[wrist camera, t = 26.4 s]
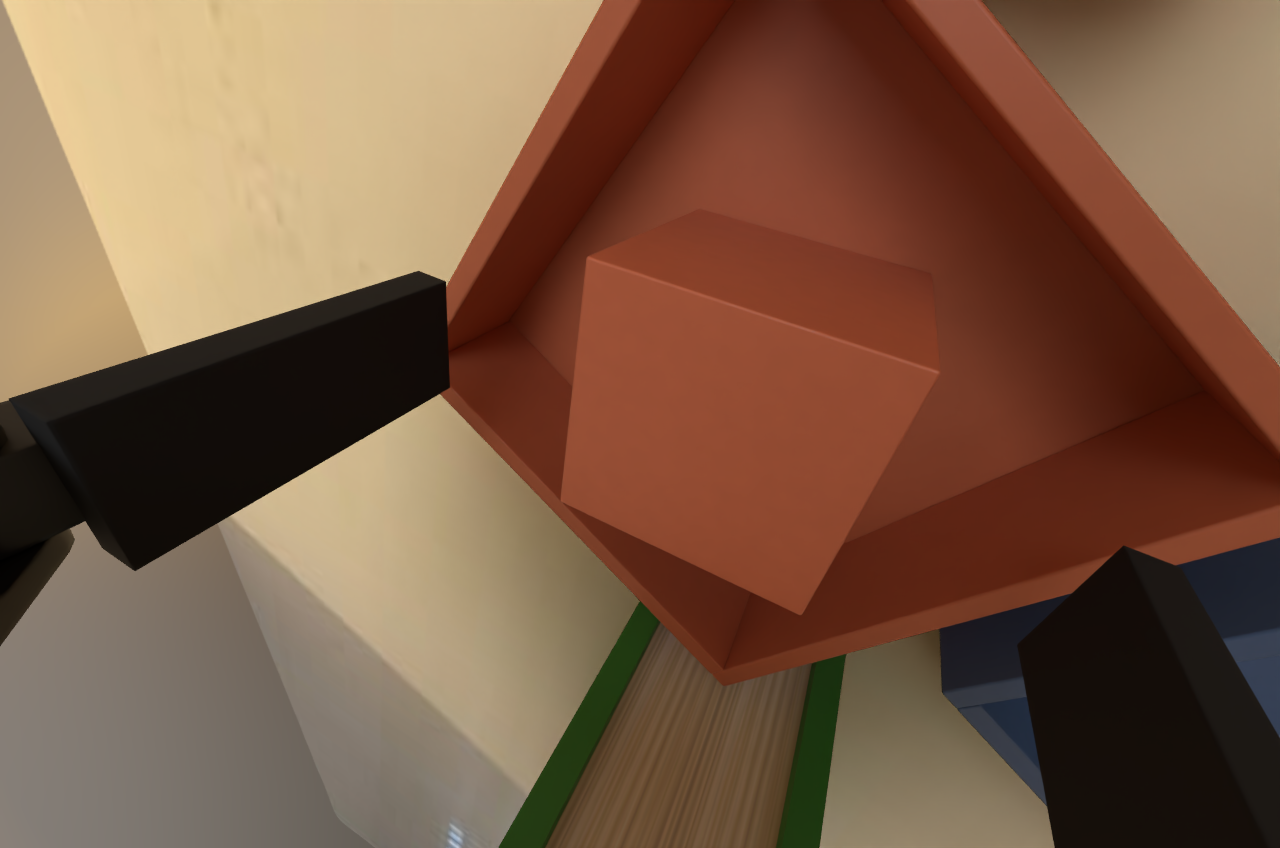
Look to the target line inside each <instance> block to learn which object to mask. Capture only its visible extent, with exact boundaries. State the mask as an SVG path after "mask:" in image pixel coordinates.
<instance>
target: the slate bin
mask: <svg viewBox="0 0 1280 848" xmlns="http://www.w3.org/2000/svg"><path fill="white" fill-rule="evenodd" d="M1176 566H1178V567H1181V569H1182V570H1183V572H1184V574H1185V575H1186V577H1187V579H1188V581H1189V582H1190V584H1191V586H1192V588H1193V589H1194V591H1195V593H1196V594H1197V596H1198V598H1199V600H1200V601H1201V603H1202V605H1203V606H1204V608H1205V610H1206V612H1207V613H1208V615H1209V617H1210V619H1211V620H1212V622H1213V624H1214V625H1215V627H1216V629H1217V631H1218V632H1219V634H1220V636H1221V637H1222V639H1223V641H1224V643H1225V644H1226V646H1227V648H1228V650H1229V651H1230V653H1231V655H1232V656H1233V658H1234V660H1235V662H1236V663H1237V665H1238V667H1239V668H1240V670H1241V672H1242V674H1243V675H1244V677H1245V679H1246V681H1247V682H1248V684H1249V686H1250V687H1251V689H1252V691H1253V693H1254V694H1255V696H1256V698H1257V699H1258V701H1259V703H1260V705H1261V706H1262V708H1263V710H1264V712H1265V713H1266V715H1267V717H1268V718H1269V720H1270V722H1271V724H1272V725H1273V727H1274V729H1275V730H1276V732H1277V734H1278V736H1279V737H1280V538H1276V539H1272V540H1269V541H1265V542H1261V543H1258V544H1254V545H1250V546H1246V547H1243V548H1239V549H1235V550H1231V551H1228V552H1224V553H1220V554H1217V555H1213V556H1209V557H1205V558H1202V559H1198V560H1194V561H1190V562H1187V563H1183V564H1179V565H1176ZM1071 594H1072V593H1071ZM1071 594H1067V595H1064V596H1060V597H1056V598H1052V599H1049V600H1045V601H1041V602H1037V603H1034V604H1030V605H1026V606H1022V607H1019V608H1015V609H1011V610H1008V611H1004V612H1000V613H996V614H993V615H989V616H985V617H981V618H978V619H974V620H970V621H967V622H963V623H959V624H955V625H952V626H948V627H944V628H940V629H939V632H940V656H941V680H942V693H943V694H944V695H945V697H946V698H947V699H948V700H949V701H950V702H951V703H952V704H953V705H954V706H955V707H956V708H957V709H958V711H959V712H960V713H961V714H962V715H963V716H964V717H965V718H966V719H967V721H968V722H969V723H970V724H971V725H972V726H973V727H974V728H975V729H976V730H977V731H978V732H979V734H980V735H981V736H982V737H983V738H984V739H985V740H986V741H987V742H988V743H989V744H990V745H991V746H992V748H993V749H994V750H995V751H996V752H997V753H998V754H999V755H1000V756H1001V757H1002V758H1003V759H1004V760H1005V762H1006V763H1007V764H1008V765H1009V766H1010V767H1011V768H1012V769H1013V770H1014V771H1015V772H1016V773H1017V774H1018V776H1019V777H1020V778H1021V779H1022V780H1023V781H1024V782H1025V783H1026V784H1027V785H1028V786H1029V787H1030V788H1031V790H1032V791H1033V792H1034V793H1035V794H1036V795H1037V796H1038V797H1039V798H1040V799H1041V800H1042V801H1043V803H1044V804H1045V805H1046V806H1047V803H1046V798H1045V792H1044V787H1043V781H1042V776H1041V771H1040V765H1039V760H1038V755H1037V749H1036V744H1035V739H1034V733H1033V728H1032V722H1031V717H1030V712H1029V706H1028V701H1027V696H1026V690H1025V685H1024V680H1023V674H1022V669H1021V663H1020V658H1019V653H1018V647H1017V644H1018V643H1019V642H1020V641H1021V640H1022V639H1024V638H1025V637H1026V636H1027V635H1028V634H1029V633H1030V632H1031V631H1032V630H1033V629H1034V628H1035V627H1036V626H1037V625H1039V624H1040V623H1041V622H1042V621H1043V620H1044V619H1045V618H1046V617H1047V616H1048V615H1049V614H1050V613H1051V612H1052V611H1054V610H1055V609H1056V608H1057V607H1058V606H1059V605H1060V604H1061V603H1062V602H1063V601H1064V600H1065V599H1066V598H1067V597H1069V596H1070V595H1071Z"/></svg>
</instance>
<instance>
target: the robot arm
mask: <svg viewBox="0 0 1280 848" xmlns="http://www.w3.org/2000/svg"><path fill="white" fill-rule="evenodd" d="M449 388H450V375H449V349H448V324H447V298H446V281H443V280H440V279H438V278H435V277H433V276H430V275H428V274H425V273H422V272H420V271H417V272H413V273H410V274H407V275H404V276H401V277H397V278H394V279H391V280H388V281H385V282H381V283H378V284H375V285H372V286H369V287H365V288H362V289H359V290H356V291H352V292H349V293H346V294H343V295H340V296H336V297H333V298H330V299H327V300H324V301H320V302H317V303H314V304H311V305H308V306H304V307H301V308H298V309H295V310H292V311H288V312H285V313H282V314H279V315H275V316H272V317H269V318H266V319H263V320H259V321H256V322H253V323H250V324H247V325H243V326H240V327H237V328H234V329H231V330H227V331H224V332H221V333H218V334H214V335H211V336H208V337H205V338H202V339H198V340H195V341H192V342H189V343H186V344H182V345H179V346H176V347H173V348H170V349H166V350H163V351H160V352H157V353H154V354H150V355H147V356H144V357H141V358H138V359H135V360H131V361H128V362H125V363H122V364H118V365H115V366H112V367H109V368H106V369H102V370H99V371H96V372H93V373H89V374H86V375H83V376H80V377H77V378H73V379H70V380H67V381H64V382H61V383H57V384H54V385H51V386H48V387H45V388H41V389H38V390H35V391H32V392H28V393H25V394H22V395H19V396H16V397H12V398H9V401H5V402H2V403H0V646H1V644H2V643H3V642H4V640H5V639H6V638H7V636H8V635H9V634H10V632H11V631H12V629H13V628H14V627H15V625H16V624H17V623H18V621H19V620H20V619H21V617H22V616H23V615H24V613H25V612H26V610H27V609H28V608H29V606H30V605H31V604H32V602H33V601H34V599H35V598H36V597H37V596H38V594H39V593H40V591H41V590H42V589H43V587H44V586H45V585H46V583H47V582H48V581H49V579H50V578H51V577H52V575H53V574H54V572H55V571H56V570H57V568H58V567H59V566H60V564H61V563H62V562H63V560H64V559H65V557H66V556H67V555H68V553H69V552H70V550H71V547H72V545H73V543H74V540H75V539H74V537H73V534H72V532H71V530H70V528H72V527H73V526H76V525H78V524H80V523H82V522H84V521H86V523H87V524H88V526H89V527H90V529H91V531H92V532H93V534H94V535H95V537H96V539H97V540H98V542H99V543H100V545H101V547H102V548H103V549H104V550H106V551H107V552H108V553H110V554H111V555H113V556H114V557H116V558H117V559H118V560H120V561H121V562H123V563H124V564H126V565H127V566H128V567H130V568H131V569H133V570H134V571H136V570H138V569H140V568H141V567H143V566H145V565H146V564H148V563H150V562H151V561H153V560H155V559H157V558H159V557H160V556H162V555H164V554H165V553H167V552H169V551H171V550H172V549H174V548H176V547H177V546H179V545H181V544H182V543H184V542H186V541H188V540H189V539H191V538H193V537H195V536H196V535H198V534H200V533H201V532H203V531H205V530H206V529H208V528H210V527H212V526H213V525H215V524H217V523H219V522H220V521H222V520H224V519H225V518H227V517H229V516H231V515H232V514H234V513H236V512H238V511H239V510H241V509H243V508H244V507H246V506H248V505H250V504H251V503H253V502H255V501H256V500H258V499H260V498H262V497H263V496H265V495H267V494H268V493H270V492H272V491H274V490H275V489H277V488H279V487H280V486H282V485H284V484H286V483H287V482H289V481H291V480H292V479H294V478H296V477H298V476H299V475H301V474H303V473H305V472H306V471H308V470H310V469H311V468H313V467H315V466H317V465H318V464H320V463H322V462H323V461H325V460H327V459H329V458H330V457H332V456H334V455H335V454H337V453H339V452H341V451H342V450H344V449H346V448H347V447H349V446H351V445H353V444H354V443H356V442H358V441H359V440H361V439H363V438H365V437H366V436H368V435H370V434H371V433H373V432H375V431H377V430H378V429H380V428H382V427H384V426H385V425H387V424H389V423H390V422H392V421H394V420H396V419H397V418H399V417H401V416H402V415H404V414H406V413H408V412H409V411H411V410H413V409H414V408H416V407H418V406H420V405H421V404H423V403H425V402H426V401H428V400H430V399H432V398H433V397H435V396H437V395H438V394H440V393H442V392H444V391H445V390H447V389H449ZM1017 647H1018V653H1019V658H1020V663H1021V669H1022V674H1023V680H1024V685H1025V690H1026V696H1027V701H1028V706H1029V712H1030V717H1031V722H1032V728H1033V733H1034V739H1035V744H1036V749H1037V755H1038V760H1039V765H1040V771H1041V776H1042V781H1043V787H1044V792H1045V798H1046V803H1047V808H1048V814H1049V819H1050V824H1051V830H1052V835H1053V840H1054V846H1055V848H1280V737H1279V736H1278V734H1277V732H1276V730H1275V729H1274V727H1273V725H1272V724H1271V722H1270V720H1269V718H1268V717H1267V715H1266V713H1265V712H1264V710H1263V708H1262V706H1261V705H1260V703H1259V701H1258V699H1257V698H1256V696H1255V694H1254V693H1253V691H1252V689H1251V687H1250V686H1249V684H1248V682H1247V681H1246V679H1245V677H1244V675H1243V674H1242V672H1241V670H1240V668H1239V667H1238V665H1237V663H1236V662H1235V660H1234V658H1233V656H1232V655H1231V653H1230V651H1229V650H1228V648H1227V646H1226V644H1225V643H1224V641H1223V639H1222V637H1221V636H1220V634H1219V632H1218V631H1217V629H1216V627H1215V625H1214V624H1213V622H1212V620H1211V619H1210V617H1209V615H1208V613H1207V612H1206V610H1205V608H1204V606H1203V605H1202V603H1201V601H1200V600H1199V598H1198V596H1197V594H1196V593H1195V591H1194V589H1193V588H1192V586H1191V584H1190V582H1189V581H1188V579H1187V577H1186V575H1185V574H1184V572H1183V570H1182V569H1181V567H1178V566H1176V565H1173V564H1171V563H1168V562H1165V561H1163V560H1160V559H1158V558H1155V557H1153V556H1150V555H1147V554H1145V553H1142V552H1140V551H1137V550H1135V549H1132V548H1129V547H1127V546H1124V545H1123V546H1122V547H1121V548H1120V549H1119V550H1118V551H1117V552H1116V553H1115V554H1114V555H1112V556H1111V557H1110V558H1109V559H1108V560H1107V561H1106V562H1105V563H1104V564H1103V565H1102V566H1101V567H1100V568H1099V569H1097V570H1096V571H1095V572H1094V573H1093V574H1092V575H1091V576H1090V577H1089V578H1088V579H1087V580H1086V581H1085V582H1084V583H1082V584H1081V585H1080V586H1079V587H1078V588H1077V589H1076V590H1075V591H1074V592H1073V593H1072V594H1071V595H1070V596H1069V597H1067V598H1066V599H1065V600H1064V601H1063V602H1062V603H1061V604H1060V605H1059V606H1058V607H1057V608H1056V609H1055V610H1054V611H1052V612H1051V613H1050V614H1049V615H1048V616H1047V617H1046V618H1045V619H1044V620H1043V621H1042V622H1041V623H1040V624H1039V625H1037V626H1036V627H1035V628H1034V629H1033V630H1032V631H1031V632H1030V633H1029V634H1028V635H1027V636H1026V637H1025V638H1024V639H1022V640H1021V641H1020V642H1019V643H1018V644H1017Z"/></svg>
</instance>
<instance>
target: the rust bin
mask: <svg viewBox="0 0 1280 848" xmlns="http://www.w3.org/2000/svg"><path fill="white" fill-rule="evenodd" d="M697 209H702V210H705V211H709V212H713V213H716V214H720V215H723V216H727V217H730V218H734V219H738V220H741V221H745V222H748V223H752V224H755V225H759V226H762V227H766V228H770V229H773V230H777V231H780V232H784V233H787V234H791V235H795V236H798V237H802V238H805V239H809V240H812V241H816V242H820V243H823V244H827V245H830V246H834V247H837V248H841V249H845V250H848V251H852V252H855V253H859V254H862V255H866V256H870V257H873V258H877V259H880V260H884V261H887V262H891V263H895V264H898V265H902V266H905V267H909V268H912V269H916V270H919V271H923V272H927V273H930V274H932V278H933V289H934V301H935V312H936V323H937V335H938V346H939V357H940V369H941V374H940V376H939V378H938V380H937V381H936V383H935V385H934V387H933V388H932V390H931V392H930V394H929V395H928V397H927V399H926V400H925V402H924V404H923V406H922V407H921V409H920V411H919V413H918V414H917V416H916V418H915V420H914V421H913V423H912V425H911V427H910V428H909V430H908V432H907V433H906V435H905V437H904V439H903V440H902V442H901V444H900V446H899V447H898V449H897V451H896V453H895V454H894V456H893V458H892V460H891V461H890V463H889V465H888V466H887V468H886V470H885V472H884V473H883V475H882V477H881V479H880V480H879V482H878V484H877V486H876V487H875V489H874V491H873V493H872V494H871V496H870V498H869V499H868V501H867V503H866V505H865V506H864V508H863V510H862V512H861V513H860V515H859V517H858V519H857V520H856V522H855V524H854V525H853V527H852V529H851V531H850V532H849V534H848V536H847V538H846V539H845V541H844V543H843V545H842V546H841V548H840V550H839V552H838V553H837V555H836V557H835V558H834V560H833V562H832V564H831V565H830V567H829V569H828V571H827V572H826V574H825V576H824V578H823V579H822V581H821V583H820V585H819V586H818V588H817V590H816V591H815V593H814V595H813V597H812V598H811V600H810V602H809V604H808V605H807V607H806V609H805V611H804V612H803V614H802V615H798V614H796V613H794V612H792V611H790V610H788V609H786V608H783V607H781V606H779V605H777V604H775V603H773V602H771V601H769V600H767V599H765V598H762V597H760V596H758V595H756V594H754V593H752V592H750V591H748V590H746V589H744V588H741V587H739V586H737V585H735V584H733V583H731V582H729V581H727V580H725V579H723V578H720V577H718V576H716V575H714V574H712V573H710V572H708V571H706V570H704V569H702V568H699V567H697V566H695V565H693V564H691V563H689V562H687V561H685V560H683V559H681V558H678V557H676V556H674V555H672V554H670V553H668V552H666V551H664V550H662V549H660V548H657V547H655V546H653V545H651V544H649V543H647V542H645V541H643V540H641V539H638V538H636V537H634V536H632V535H630V534H628V533H626V532H624V531H622V530H620V529H617V528H615V527H613V526H611V525H609V524H607V523H605V522H603V521H601V520H599V519H596V518H594V517H592V516H590V515H588V514H586V513H584V512H582V511H580V510H578V509H575V508H573V507H571V506H569V505H567V504H565V503H563V502H561V490H562V481H563V472H564V462H565V453H566V444H567V434H568V425H569V416H570V406H571V397H572V388H573V378H574V369H575V360H576V351H577V341H578V332H579V323H580V313H581V304H582V295H583V285H584V276H585V267H586V259H587V257H588V256H590V255H592V254H594V253H597V252H599V251H601V250H604V249H606V248H608V247H611V246H613V245H616V244H618V243H620V242H623V241H625V240H627V239H630V238H632V237H634V236H637V235H639V234H641V233H644V232H646V231H648V230H651V229H653V228H655V227H658V226H660V225H662V224H665V223H667V222H669V221H672V220H674V219H676V218H679V217H681V216H683V215H686V214H688V213H690V212H693V211H695V210H697ZM446 298H447V324H448V349H449V375H450V388H449V389H447V390H445V391H444V392H442V393H440V394H441V396H442V397H443V398H444V399H445V400H446V401H447V402H448V403H449V404H450V405H451V406H452V407H453V408H454V409H455V410H456V411H457V412H458V413H459V414H460V415H461V416H462V417H463V418H464V419H465V420H466V421H467V422H468V423H469V424H470V425H471V427H472V428H473V429H474V430H475V431H476V432H477V433H478V434H479V435H480V436H481V437H482V438H483V439H484V440H485V441H486V442H487V443H488V444H489V445H490V446H491V447H492V448H493V449H494V450H495V451H496V452H497V453H498V454H499V455H500V456H501V458H502V459H503V460H504V461H505V462H506V463H507V464H508V465H509V466H510V467H511V468H512V469H513V470H514V471H515V472H516V473H517V474H518V475H519V476H520V477H521V478H522V479H523V480H524V481H525V482H526V483H527V484H528V485H529V486H530V487H531V489H532V490H533V491H534V492H535V493H536V494H537V495H538V496H539V497H540V498H541V499H542V500H543V501H544V502H545V503H546V504H547V505H548V506H549V507H550V508H551V509H552V510H553V511H554V512H555V513H556V514H557V515H558V516H559V517H560V518H561V520H562V521H563V522H564V523H565V524H566V525H567V526H568V527H569V528H570V529H571V530H572V531H573V532H574V533H575V534H576V535H577V536H578V537H579V538H580V539H581V540H582V541H583V542H584V543H585V544H586V545H587V546H588V547H589V548H590V550H591V551H592V552H593V553H594V554H595V555H596V556H597V557H598V558H599V559H600V560H601V561H602V562H603V563H604V564H605V565H606V566H607V567H608V568H609V569H610V570H611V571H612V572H613V573H614V574H615V575H616V576H617V577H618V578H619V579H620V581H621V582H622V583H623V584H624V585H625V586H626V587H627V588H628V589H629V590H630V591H631V592H632V593H633V594H634V595H635V596H636V597H637V598H638V599H639V600H640V601H641V602H642V603H643V604H644V605H645V606H646V607H647V608H648V609H649V610H650V612H651V613H652V614H653V615H654V616H655V617H656V618H657V619H658V620H659V621H660V622H661V623H662V624H663V625H664V626H665V627H666V628H667V629H668V630H669V631H670V632H671V633H672V634H673V635H674V636H675V637H676V638H677V639H678V640H679V641H680V643H681V644H682V645H683V646H684V647H685V648H686V649H687V650H688V651H689V652H690V653H691V654H692V655H693V656H694V657H695V658H696V659H697V660H698V661H699V662H700V663H701V664H702V665H703V666H704V667H705V668H706V669H707V670H708V671H709V672H710V673H711V674H712V675H713V676H714V677H715V678H716V679H717V680H718V681H719V682H720V683H721V684H722V685H723V686H728V685H731V684H735V683H739V682H743V681H746V680H750V679H754V678H758V677H761V676H765V675H769V674H772V673H776V672H780V671H784V670H787V669H791V668H795V667H799V666H802V665H806V664H810V663H814V662H817V661H821V660H825V659H828V658H832V657H836V656H840V655H843V654H847V653H851V652H855V651H858V650H862V649H866V648H870V647H873V646H877V645H881V644H884V643H888V642H892V641H896V640H899V639H903V638H907V637H911V636H914V635H918V634H922V633H925V632H929V631H933V630H937V629H940V628H944V627H948V626H952V625H955V624H959V623H963V622H967V621H970V620H974V619H978V618H981V617H985V616H989V615H993V614H996V613H1000V612H1004V611H1008V610H1011V609H1015V608H1019V607H1022V606H1026V605H1030V604H1034V603H1037V602H1041V601H1045V600H1049V599H1052V598H1056V597H1060V596H1064V595H1067V594H1071V593H1073V592H1074V591H1075V590H1076V589H1077V588H1078V587H1079V586H1080V585H1081V584H1082V583H1084V582H1085V581H1086V580H1087V579H1088V578H1089V577H1090V576H1091V575H1092V574H1093V573H1094V572H1095V571H1096V570H1097V569H1099V568H1100V567H1101V566H1102V565H1103V564H1104V563H1105V562H1106V561H1107V560H1108V559H1109V558H1110V557H1111V556H1112V555H1114V554H1115V553H1116V552H1117V551H1118V550H1119V549H1120V548H1121V547H1122V546H1123V545H1124V546H1127V547H1129V548H1132V549H1135V550H1137V551H1140V552H1142V553H1145V554H1147V555H1150V556H1153V557H1155V558H1158V559H1160V560H1163V561H1165V562H1168V563H1171V564H1173V565H1179V564H1183V563H1187V562H1190V561H1194V560H1198V559H1202V558H1205V557H1209V556H1213V555H1217V554H1220V553H1224V552H1228V551H1231V550H1235V549H1239V548H1243V547H1246V546H1250V545H1254V544H1258V543H1261V542H1265V541H1269V540H1272V539H1276V538H1280V367H1279V365H1278V364H1277V363H1276V362H1275V361H1274V359H1273V358H1272V357H1271V356H1270V354H1269V353H1268V352H1267V351H1266V349H1265V348H1264V347H1263V346H1262V345H1261V343H1260V342H1259V341H1258V340H1257V338H1256V337H1255V336H1254V335H1253V333H1252V332H1251V331H1250V330H1249V329H1248V327H1247V326H1246V325H1245V324H1244V322H1243V321H1242V320H1241V319H1240V317H1239V316H1238V315H1237V314H1236V313H1235V311H1234V310H1233V309H1232V308H1231V306H1230V305H1229V304H1228V303H1227V301H1226V300H1225V299H1224V298H1223V297H1222V295H1221V294H1220V293H1219V292H1218V290H1217V289H1216V288H1215V287H1214V286H1213V284H1212V283H1211V282H1210V281H1209V279H1208V278H1207V277H1206V276H1205V274H1204V273H1203V272H1202V271H1201V270H1200V268H1199V267H1198V266H1197V265H1196V263H1195V262H1194V261H1193V260H1192V258H1191V257H1190V256H1189V255H1188V254H1187V252H1186V251H1185V250H1184V249H1183V247H1182V246H1181V245H1180V244H1179V242H1178V241H1177V240H1176V239H1175V238H1174V236H1173V235H1172V234H1171V233H1170V231H1169V230H1168V229H1167V228H1166V226H1165V225H1164V224H1163V223H1162V222H1161V220H1160V219H1159V218H1158V217H1157V215H1156V214H1155V213H1154V212H1153V211H1152V209H1151V208H1150V207H1149V206H1148V204H1147V203H1146V202H1145V201H1144V199H1143V198H1142V197H1141V196H1140V195H1139V193H1138V192H1137V191H1136V190H1135V188H1134V187H1133V186H1132V185H1131V183H1130V182H1129V181H1128V180H1127V179H1126V177H1125V176H1124V175H1123V174H1122V172H1121V171H1120V170H1119V169H1118V167H1117V166H1116V165H1115V164H1114V163H1113V161H1112V160H1111V159H1110V158H1109V156H1108V155H1107V154H1106V153H1105V151H1104V150H1103V149H1102V148H1101V147H1100V145H1099V144H1098V143H1097V142H1096V140H1095V139H1094V138H1093V137H1092V135H1091V134H1090V133H1089V132H1088V131H1087V129H1086V128H1085V127H1084V126H1083V124H1082V123H1081V122H1080V121H1079V120H1078V118H1077V117H1076V116H1075V115H1074V113H1073V112H1072V111H1071V110H1070V108H1069V107H1068V106H1067V105H1066V104H1065V102H1064V101H1063V100H1062V99H1061V97H1060V96H1059V95H1058V94H1057V92H1056V91H1055V90H1054V89H1053V88H1052V86H1051V85H1050V84H1049V83H1048V81H1047V80H1046V79H1045V78H1044V76H1043V75H1042V74H1041V73H1040V72H1039V70H1038V69H1037V68H1036V67H1035V65H1034V64H1033V63H1032V62H1031V60H1030V59H1029V58H1028V57H1027V56H1026V54H1025V53H1024V52H1023V51H1022V49H1021V48H1020V47H1019V46H1018V44H1017V43H1016V42H1015V41H1014V40H1013V38H1012V37H1011V36H1010V35H1009V33H1008V32H1007V31H1006V30H1005V29H1004V27H1003V26H1002V25H1001V24H1000V22H999V21H998V20H997V19H996V17H995V16H994V15H993V14H992V13H991V11H990V10H989V9H988V8H987V6H986V5H985V4H984V3H983V1H982V0H604V1H603V2H602V4H601V6H600V8H599V10H598V11H597V13H596V15H595V17H594V19H593V21H592V22H591V24H590V26H589V28H588V30H587V32H586V33H585V35H584V37H583V39H582V41H581V42H580V44H579V46H578V48H577V50H576V52H575V53H574V55H573V57H572V59H571V61H570V63H569V64H568V66H567V68H566V70H565V72H564V73H563V75H562V77H561V79H560V81H559V83H558V84H557V86H556V88H555V90H554V92H553V94H552V95H551V97H550V99H549V101H548V103H547V104H546V106H545V108H544V110H543V112H542V114H541V115H540V117H539V119H538V121H537V123H536V125H535V126H534V128H533V130H532V132H531V134H530V135H529V137H528V139H527V141H526V143H525V145H524V146H523V148H522V150H521V152H520V154H519V156H518V157H517V159H516V161H515V163H514V165H513V166H512V168H511V170H510V172H509V174H508V176H507V177H506V179H505V181H504V183H503V185H502V187H501V188H500V190H499V192H498V194H497V196H496V197H495V199H494V201H493V203H492V205H491V207H490V208H489V210H488V212H487V214H486V216H485V218H484V219H483V221H482V223H481V225H480V227H479V228H478V230H477V232H476V234H475V236H474V238H473V239H472V241H471V243H470V245H469V247H468V249H467V250H466V252H465V254H464V256H463V258H462V259H461V261H460V263H459V265H458V267H457V269H456V270H455V272H454V274H453V276H452V278H451V280H450V281H449V283H448V285H447V287H446Z"/></svg>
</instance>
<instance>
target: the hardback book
mask: <svg viewBox="0 0 1280 848" xmlns="http://www.w3.org/2000/svg"><path fill="white" fill-rule="evenodd" d="M845 656H846V654H843V655H840V656H836V657H832V658H828V659H825V660H821V661H817V662H814V663H810V664H806V665H802V666H799V667H795V668H791V669H787V670H784V671H780V672H776V673H772V674H769V675H765V676H761V677H758V678H754V679H750V680H746V681H743V682H739V683H735V684H731V685H728V686H723V685H722V684H721V683H720V682H719V681H718V680H717V679H716V678H715V677H714V676H713V675H712V674H711V673H710V672H709V671H708V670H707V669H706V668H705V667H704V666H703V665H702V664H701V663H700V662H699V661H698V660H697V659H696V658H695V657H694V656H693V655H692V654H691V653H690V652H689V651H688V650H687V649H686V648H685V647H684V646H683V645H682V644H681V643H680V641H679V640H678V639H677V638H676V637H675V636H674V635H673V634H672V633H671V632H670V631H669V630H668V629H667V628H666V627H665V626H664V625H663V624H662V623H661V622H660V621H659V620H658V619H657V618H656V617H655V616H654V615H653V614H652V613H651V612H650V610H649V609H648V608H647V607H646V606H645V605H644V604H643V603H642V602H641V601H640V602H639V604H638V606H637V607H636V609H635V611H634V613H633V614H632V616H631V618H630V620H629V621H628V623H627V625H626V627H625V628H624V630H623V632H622V634H621V635H620V637H619V639H618V640H617V642H616V644H615V646H614V647H613V649H612V651H611V653H610V654H609V656H608V658H607V660H606V661H605V663H604V665H603V667H602V668H601V670H600V672H599V674H598V675H597V677H596V679H595V681H594V682H593V684H592V686H591V687H590V689H589V691H588V693H587V694H586V696H585V698H584V700H583V701H582V703H581V705H580V707H579V708H578V710H577V712H576V714H575V715H574V717H573V719H572V721H571V722H570V724H569V726H568V727H567V729H566V731H565V733H564V734H563V736H562V738H561V740H560V741H559V743H558V745H557V747H556V748H555V750H554V752H553V754H552V755H551V757H550V759H549V761H548V762H547V764H546V766H545V768H544V769H543V771H542V773H541V774H540V776H539V778H538V780H537V781H536V783H535V785H534V787H533V788H532V790H531V792H530V794H529V795H528V797H527V799H526V801H525V802H524V804H523V806H522V808H521V809H520V811H519V813H518V815H517V816H516V818H515V820H514V821H513V823H512V825H511V827H510V828H509V830H508V832H507V834H506V835H505V837H504V839H503V841H502V842H501V844H500V846H499V848H819V847H820V839H821V832H822V825H823V817H824V810H825V803H826V795H827V788H828V781H829V773H830V766H831V759H832V751H833V744H834V737H835V729H836V722H837V715H838V707H839V700H840V693H841V685H842V678H843V671H844V663H845Z"/></svg>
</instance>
